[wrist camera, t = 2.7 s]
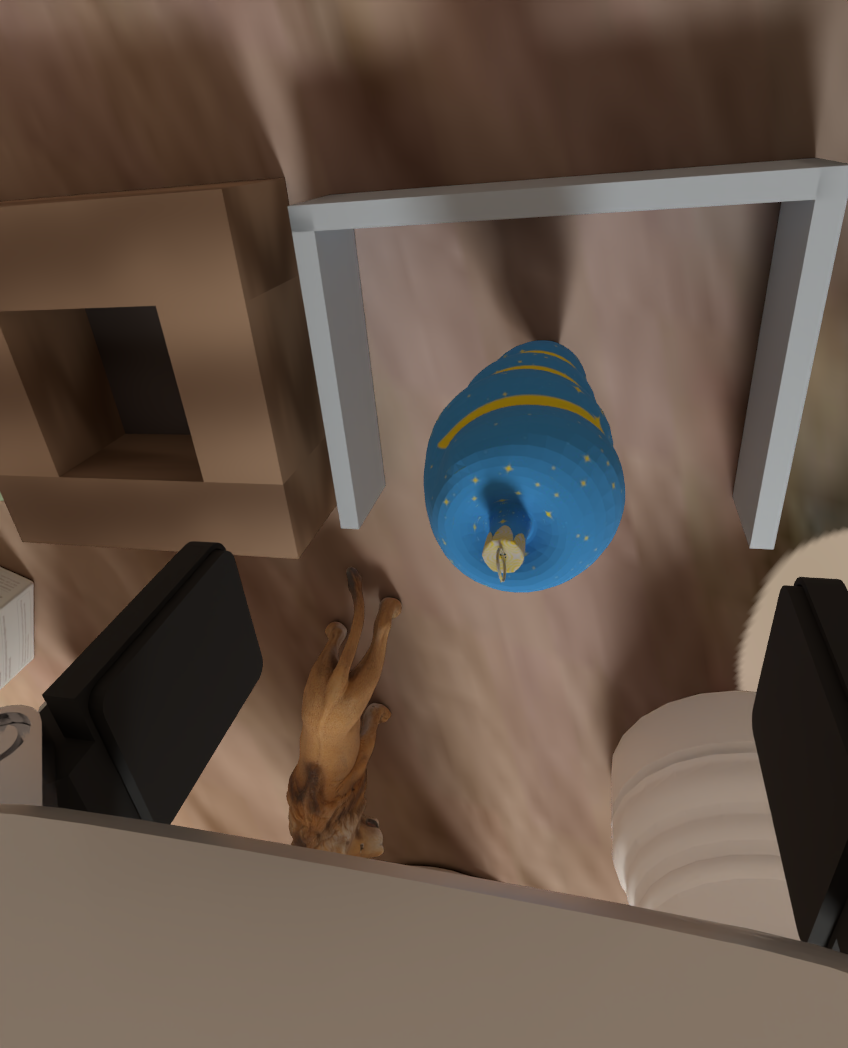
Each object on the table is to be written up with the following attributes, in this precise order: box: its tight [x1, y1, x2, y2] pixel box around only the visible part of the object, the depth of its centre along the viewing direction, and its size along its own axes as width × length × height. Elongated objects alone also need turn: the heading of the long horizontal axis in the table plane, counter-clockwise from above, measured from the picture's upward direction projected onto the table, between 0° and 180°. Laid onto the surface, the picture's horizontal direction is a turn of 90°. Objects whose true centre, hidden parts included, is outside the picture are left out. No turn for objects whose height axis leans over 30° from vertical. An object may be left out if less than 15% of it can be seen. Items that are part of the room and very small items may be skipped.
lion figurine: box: [286, 567, 402, 858], centre depth 34 cm, size 15×5×9 cm, turn 3°
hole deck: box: [0, 178, 337, 559], centre depth 29 cm, size 14×14×5 cm
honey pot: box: [611, 690, 801, 941], centre depth 28 cm, size 13×13×18 cm
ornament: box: [424, 340, 625, 592], centre depth 20 cm, size 5×5×15 cm
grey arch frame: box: [288, 158, 848, 549], centre depth 25 cm, size 12×17×4 cm
